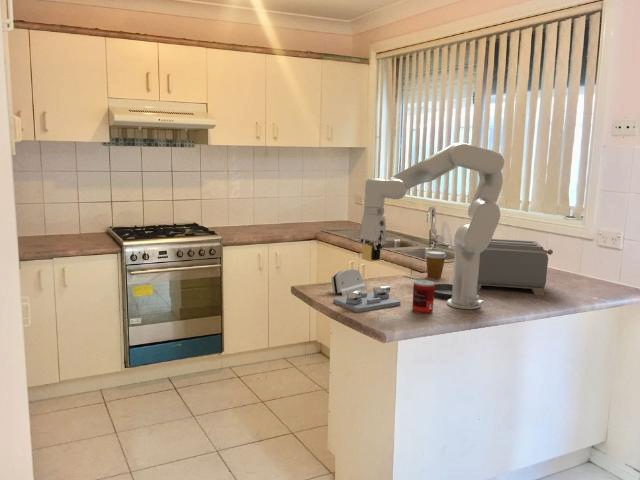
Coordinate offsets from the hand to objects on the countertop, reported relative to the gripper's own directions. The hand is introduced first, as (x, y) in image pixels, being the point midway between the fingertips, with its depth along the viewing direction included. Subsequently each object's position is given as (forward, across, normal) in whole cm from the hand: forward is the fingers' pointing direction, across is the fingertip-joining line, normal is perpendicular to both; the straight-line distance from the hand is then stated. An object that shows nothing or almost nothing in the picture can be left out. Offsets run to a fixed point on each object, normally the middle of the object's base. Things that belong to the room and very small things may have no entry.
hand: (371, 257), depth 217 cm
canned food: (+18, -18, -11) cm, 28 cm away
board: (+18, -1, +2) cm, 18 cm away
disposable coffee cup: (+18, +18, -56) cm, 61 cm away
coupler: (+1, 0, 0) cm, 1 cm away
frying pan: (+18, 0, -36) cm, 41 cm away
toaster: (+18, -11, -72) cm, 75 cm away
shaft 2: (+18, -1, -6) cm, 19 cm away
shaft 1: (+18, -2, +9) cm, 20 cm away
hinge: (+18, +18, -4) cm, 26 cm away
